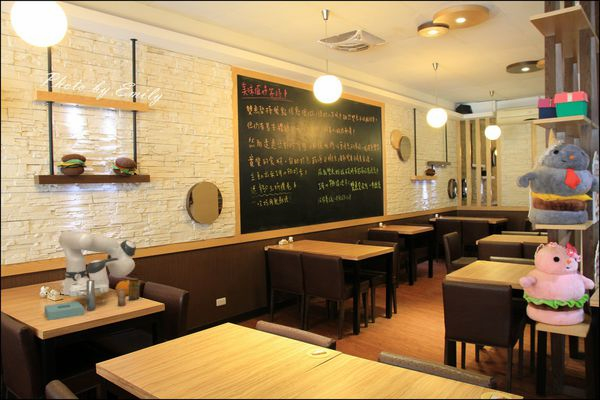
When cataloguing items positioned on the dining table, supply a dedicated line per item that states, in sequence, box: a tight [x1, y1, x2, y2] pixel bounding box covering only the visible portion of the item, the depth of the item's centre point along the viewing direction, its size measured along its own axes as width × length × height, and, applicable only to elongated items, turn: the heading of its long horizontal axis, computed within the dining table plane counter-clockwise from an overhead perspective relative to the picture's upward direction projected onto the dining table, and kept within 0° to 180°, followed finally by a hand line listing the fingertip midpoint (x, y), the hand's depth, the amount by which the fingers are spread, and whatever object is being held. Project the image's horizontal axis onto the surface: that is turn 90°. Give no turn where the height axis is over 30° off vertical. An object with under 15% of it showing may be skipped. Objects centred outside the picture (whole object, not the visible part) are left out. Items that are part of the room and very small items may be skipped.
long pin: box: [86, 280, 96, 312], centre depth 239 cm, size 4×4×16 cm
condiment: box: [125, 277, 143, 302], centre depth 263 cm, size 7×8×12 cm
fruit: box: [115, 278, 130, 297], centre depth 275 cm, size 12×12×10 cm
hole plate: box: [44, 300, 85, 321], centre depth 232 cm, size 16×16×4 cm
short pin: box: [117, 289, 126, 307], centre depth 249 cm, size 4×4×9 cm
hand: (91, 292), depth 242 cm, fingers open, 8 cm apart
